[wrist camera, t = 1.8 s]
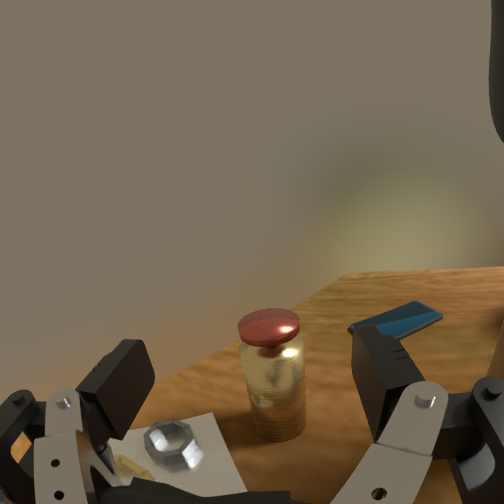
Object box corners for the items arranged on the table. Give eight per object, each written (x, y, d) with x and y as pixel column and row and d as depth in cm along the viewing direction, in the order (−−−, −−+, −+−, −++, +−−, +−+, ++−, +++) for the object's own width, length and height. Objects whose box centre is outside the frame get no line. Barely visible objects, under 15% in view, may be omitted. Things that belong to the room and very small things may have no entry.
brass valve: (291, 399, 28) (283, 302, 25) (315, 428, 23) (314, 325, 20) (247, 415, 26) (227, 318, 23) (266, 448, 22) (248, 347, 19)
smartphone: (347, 329, 41) (347, 324, 41) (415, 303, 44) (416, 299, 44) (374, 353, 34) (374, 347, 33) (444, 319, 37) (445, 314, 36)
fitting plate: (213, 416, 27) (209, 402, 26) (262, 520, 14) (259, 511, 13) (74, 441, 21) (64, 427, 21) (69, 541, 8) (53, 531, 8)
